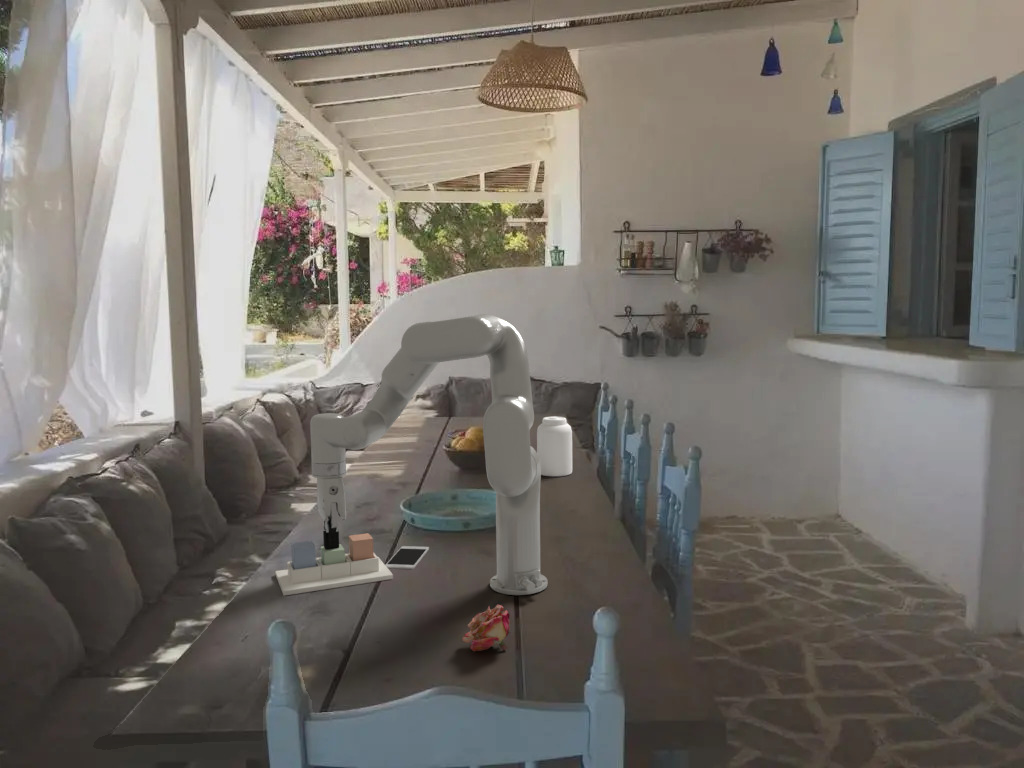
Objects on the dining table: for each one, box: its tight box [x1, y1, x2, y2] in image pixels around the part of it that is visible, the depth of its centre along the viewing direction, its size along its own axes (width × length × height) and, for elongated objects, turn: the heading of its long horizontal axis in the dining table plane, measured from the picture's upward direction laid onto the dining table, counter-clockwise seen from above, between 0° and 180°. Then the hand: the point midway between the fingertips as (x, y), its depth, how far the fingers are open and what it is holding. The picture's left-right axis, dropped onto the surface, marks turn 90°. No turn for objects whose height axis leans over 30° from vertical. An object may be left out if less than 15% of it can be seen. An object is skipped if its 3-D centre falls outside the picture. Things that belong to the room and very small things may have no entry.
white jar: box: [536, 415, 573, 478], centre depth 287 cm, size 12×12×20 cm
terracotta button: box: [348, 532, 374, 561], centre depth 187 cm, size 5×5×5 cm
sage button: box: [320, 543, 346, 565], centre depth 185 cm, size 5×5×5 cm
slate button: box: [290, 540, 317, 569], centre depth 182 cm, size 5×5×5 cm
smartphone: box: [385, 545, 430, 570], centre depth 198 cm, size 7×16×1 cm, turn 172°
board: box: [274, 551, 394, 596], centre depth 185 cm, size 14×24×4 cm, turn 113°
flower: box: [462, 604, 512, 653], centre depth 146 cm, size 10×9×8 cm
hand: (331, 547), depth 184 cm, fingers closed
